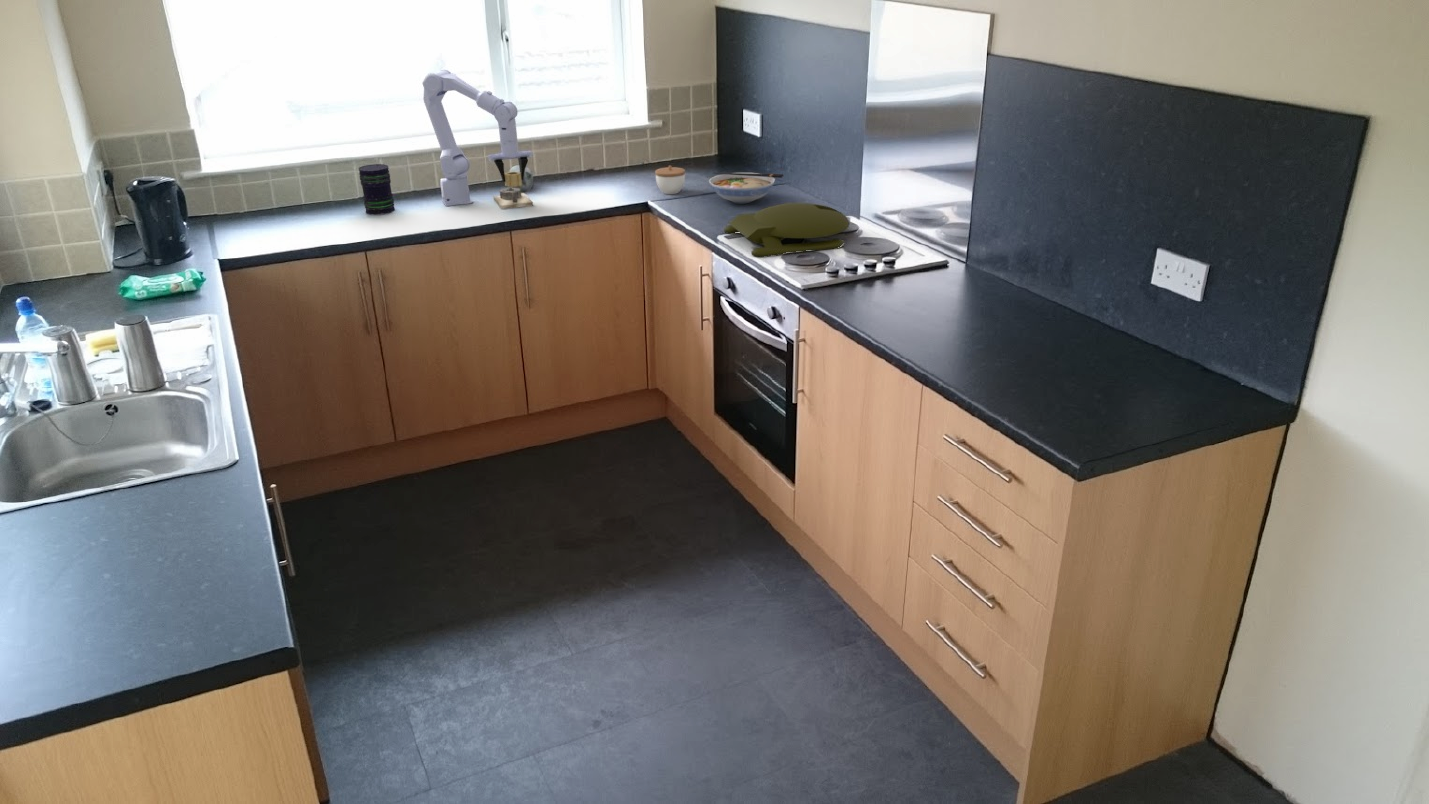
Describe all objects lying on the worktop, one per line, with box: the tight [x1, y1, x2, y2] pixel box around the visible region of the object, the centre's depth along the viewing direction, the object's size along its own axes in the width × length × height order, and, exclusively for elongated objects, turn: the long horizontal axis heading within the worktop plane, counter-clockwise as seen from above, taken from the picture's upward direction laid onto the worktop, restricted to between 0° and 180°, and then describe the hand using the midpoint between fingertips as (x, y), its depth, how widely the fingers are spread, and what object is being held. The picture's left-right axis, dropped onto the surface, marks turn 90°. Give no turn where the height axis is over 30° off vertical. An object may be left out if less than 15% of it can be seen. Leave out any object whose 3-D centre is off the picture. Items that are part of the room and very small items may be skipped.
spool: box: [508, 164, 534, 192], centre depth 377 cm, size 14×10×10 cm
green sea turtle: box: [723, 202, 850, 258], centre depth 313 cm, size 35×31×10 cm
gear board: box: [492, 187, 534, 210], centre depth 359 cm, size 11×14×4 cm
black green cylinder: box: [358, 163, 396, 216], centre depth 350 cm, size 10×10×15 cm
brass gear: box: [504, 171, 522, 188], centre depth 353 cm, size 6×6×4 cm
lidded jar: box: [654, 165, 686, 195], centre depth 368 cm, size 11×11×9 cm
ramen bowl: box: [708, 172, 784, 205], centre depth 354 cm, size 25×23×8 cm
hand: (512, 180), depth 353 cm, fingers closed on brass gear, 6 cm apart
